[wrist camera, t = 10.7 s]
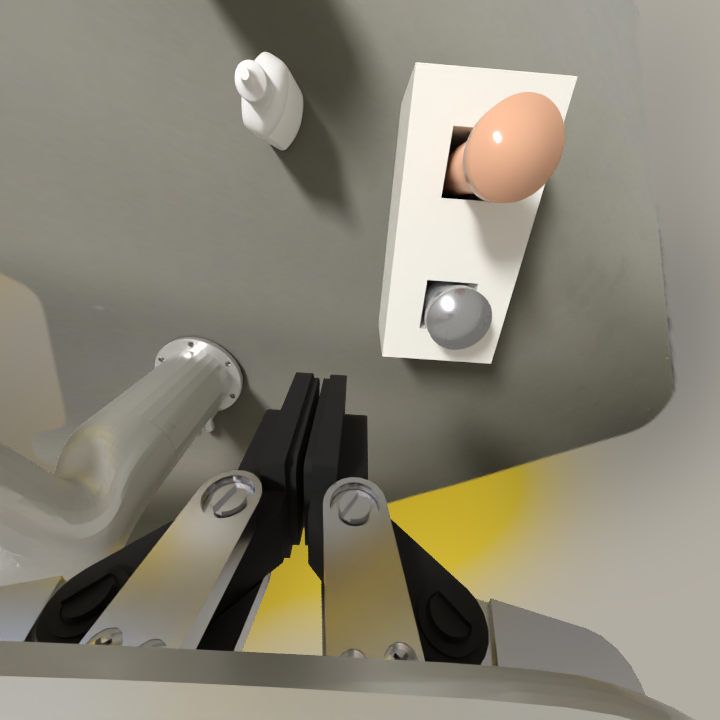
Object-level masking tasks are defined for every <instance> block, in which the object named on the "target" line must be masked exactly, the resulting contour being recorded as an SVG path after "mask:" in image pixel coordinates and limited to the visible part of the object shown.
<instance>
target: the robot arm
mask: <svg viewBox="0 0 720 720" xmlns="http://www.w3.org/2000/svg"><path fill="white" fill-rule="evenodd" d="M346 382H347V376H344V375H330V379H325V378H324V380H323V384H322V389H321V393H320V397H319V388H320V380H319V378H314V374H313V373H299V372H297V373H296V374H295V377H294V379H293V382H292V384H291V387H290V389H289V391H288V394H287V396H286V399H285V401H284V403H283V406H282V408H281V410H272V409H269V410H267V411H266V413H265V415H264V417H263V419H262V421H261V423H260V425H259V427H258V429H257V431H256V433H255V436H254V438H253V440H252V442H251V444H250V446H249V448H248V450H247V452H246V454H245V456H244V458H243V460H242V462H241V464H240V467H239V469H238V470H234V471H228V472H224V473H221V474H219V475H216V476H214V477H213V478H211V479H210V480H208V481H207V482H206V483H205V484H204V485H203V486H202V487H201V488H200V489H199V490H198V491H197V492H196V494H195V495H194V496H193V497H192V499H191V500H190V501H189V503H188V504H187V505H186V506H185V508H184V509H183V510H182V512H181V513H180V514H179V515H178V517H177V518H176V519H175V520H173V521H171V522H169V523H167V524H166V525H164V526H162V527H160V528H158V529H157V530H155V531H153V532H151V533H149V534H147V535H146V536H144V537H142V538H140V539H138V540H137V541H135V542H133V543H131V544H129V545H128V546H126V547H124V546H125V544H126V542H127V540H128V538H129V536H130V534H131V532H132V530H133V529H134V527H135V525H136V523H137V521H138V520H139V518H140V516H141V514H142V513H143V511H144V510H145V508H146V507H147V505H148V503H149V502H150V500H151V499H152V497H153V496H154V494H155V493H156V492H157V490H158V489H159V487H160V486H161V485H162V483H163V482H164V480H165V479H166V478H167V476H168V475H169V473H170V472H171V471H172V469H173V468H174V467H175V465H176V464H177V463H178V461H179V460H180V459H181V457H182V456H183V454H184V453H185V452H186V450H187V449H188V448H189V446H190V445H191V444H192V442H193V441H194V439H195V438H196V437H198V436H200V435H201V433H202V431H201V430H202V429H203V427H204V428H205V431H206V432H211V431H213V430H214V428H215V427H214V422H213V418H214V416H215V415H216V414H217V412H218V411H222V410H224V409H226V408H228V407H229V406H231V405H232V404H233V403H234V402H235V401H236V400H237V398H238V397H239V395H240V393H241V391H242V388H243V377H242V373H241V370H240V367H239V365H238V364H237V362H236V360H235V359H234V358H233V357H232V356H231V354H230V353H228V352H227V351H226V350H225V349H224V348H222V347H221V346H219V345H218V344H216V343H214V342H211V341H209V340H206V339H202V338H197V337H183V338H179V339H176V340H174V341H172V342H170V343H168V344H167V345H166V346H164V347H163V348H162V349H161V350H160V351H159V353H158V355H157V357H156V360H155V369H153V370H152V371H151V372H149V373H148V374H147V375H146V376H144V377H143V378H142V379H140V380H139V381H138V382H136V383H135V384H134V385H132V386H131V387H130V388H129V389H127V390H126V391H125V392H123V393H122V394H121V395H119V396H118V397H117V398H116V399H114V400H113V401H112V402H110V403H109V404H108V405H106V406H105V407H104V408H102V409H101V410H100V411H99V412H97V413H96V414H95V415H93V416H92V417H91V418H89V419H88V420H87V421H85V422H84V423H83V424H82V425H81V426H79V427H78V428H77V429H76V430H75V431H74V432H73V433H72V434H71V436H70V437H69V438H68V440H67V441H66V443H65V445H64V446H63V448H62V450H61V453H60V455H59V458H58V461H57V465H56V469H55V473H54V474H52V473H51V472H47V471H46V470H44V469H43V468H41V467H40V466H38V465H36V464H35V463H33V462H32V461H30V460H28V459H27V458H25V457H24V456H22V455H20V454H19V453H17V452H16V451H14V450H12V449H11V448H9V447H8V446H6V445H4V444H3V443H1V442H0V720H695V719H693V718H691V717H689V716H687V715H685V714H684V713H682V712H680V711H678V710H676V709H675V708H673V707H670V706H668V705H666V704H663V703H661V702H659V701H657V700H654V699H652V698H650V697H648V696H646V695H645V693H644V691H643V688H642V686H641V684H640V682H639V680H638V678H637V676H636V674H635V673H634V671H633V669H632V667H631V665H630V664H629V663H628V662H627V660H626V659H625V658H624V657H623V656H622V654H621V653H620V652H619V651H618V649H616V648H615V647H614V646H613V645H612V644H610V643H609V642H608V641H607V640H606V639H604V638H603V637H602V636H601V635H598V634H596V633H594V632H592V631H590V630H588V629H586V628H583V627H580V626H576V625H573V624H570V623H567V622H563V621H561V620H557V619H554V618H551V617H548V616H545V615H541V614H538V613H535V612H532V611H529V610H526V609H523V608H519V607H516V606H513V605H510V604H506V603H503V602H500V601H497V600H494V599H490V601H489V603H488V602H484V601H481V600H478V599H475V598H474V596H473V595H472V594H471V593H470V592H469V591H468V589H467V588H466V587H464V586H463V585H462V584H461V583H460V582H459V581H458V580H457V579H455V577H453V576H452V575H451V574H450V573H449V572H448V571H447V570H446V569H445V568H444V567H443V566H442V565H440V564H439V563H438V562H437V561H436V560H435V559H434V558H433V557H432V556H431V555H429V554H428V553H427V552H426V551H425V550H424V549H423V548H422V547H421V546H420V545H419V544H417V543H416V542H415V541H414V540H413V539H412V538H411V537H410V536H408V534H407V533H405V532H404V531H403V530H402V529H401V528H400V527H399V526H398V525H397V524H396V523H395V522H393V521H392V520H391V519H390V515H389V511H388V507H387V502H386V499H385V497H384V494H383V492H382V491H381V490H380V489H379V488H378V486H377V485H375V484H374V483H372V482H371V481H369V480H368V443H367V416H365V415H350V414H345V400H346ZM304 520H305V545H308V563H309V565H310V566H311V568H312V569H313V570H314V572H315V573H316V574H317V576H318V577H319V578H320V580H321V594H322V596H321V598H322V651H323V656H315V655H296V654H276V653H256V652H242V649H243V647H244V644H245V642H246V639H247V637H248V634H249V632H250V629H251V627H252V624H253V621H254V619H255V616H256V614H257V611H258V609H259V606H260V604H261V601H262V598H263V596H264V593H265V591H266V589H267V586H268V583H269V580H270V576H271V571H273V570H274V569H275V568H276V567H277V566H279V565H280V564H281V563H283V560H284V558H290V555H291V550H292V545H299V544H300V541H301V536H302V531H303V525H304Z"/></svg>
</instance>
